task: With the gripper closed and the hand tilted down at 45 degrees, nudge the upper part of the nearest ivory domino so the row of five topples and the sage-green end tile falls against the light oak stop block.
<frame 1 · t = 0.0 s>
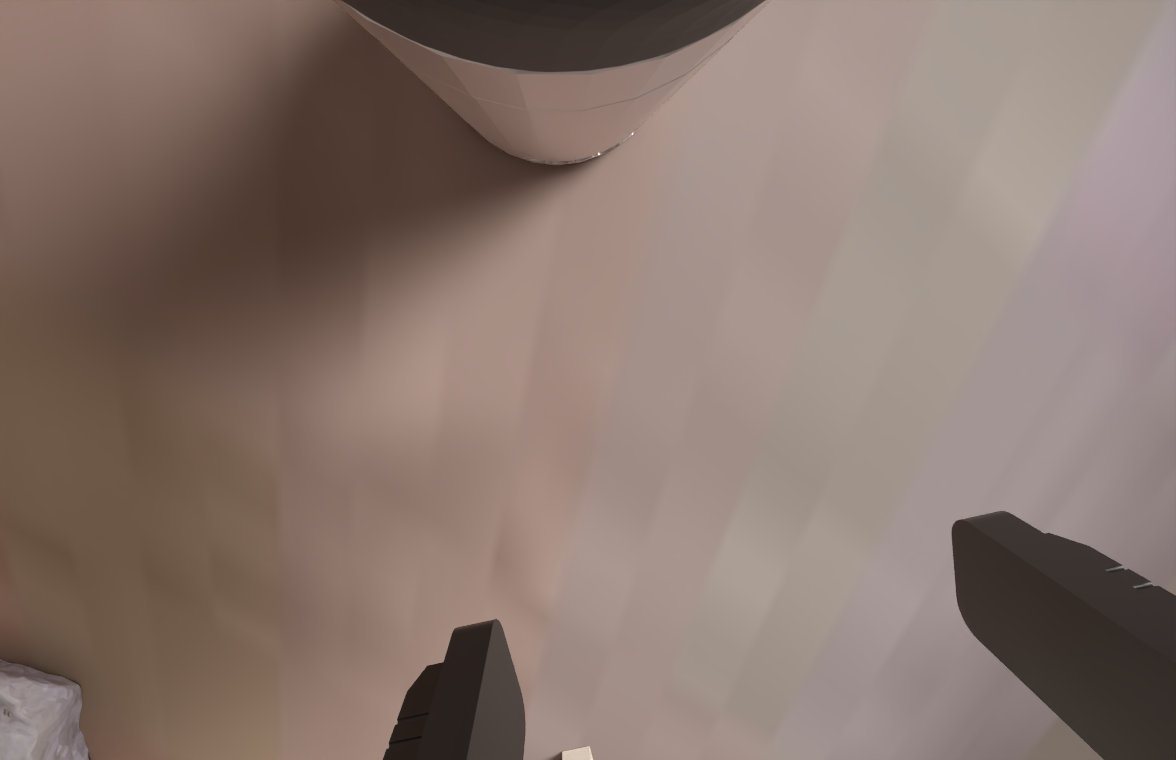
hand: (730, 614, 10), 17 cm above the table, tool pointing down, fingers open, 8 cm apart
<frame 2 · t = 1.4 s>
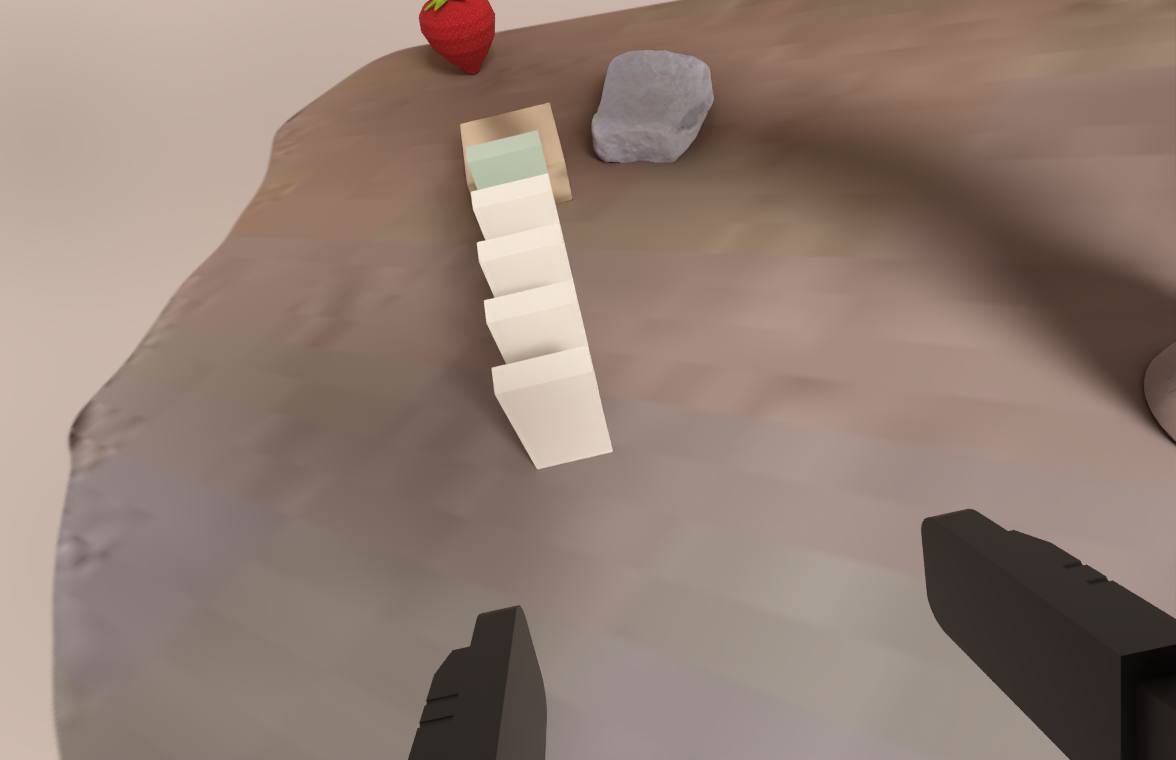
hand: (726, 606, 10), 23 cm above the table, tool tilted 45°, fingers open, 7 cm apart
strawberry: (474, 75, 61), on the table
domino 4: (542, 292, 44), on the table
domino 3: (551, 339, 42), on the table
domino 5: (534, 251, 47), on the table
domino 1: (572, 449, 37), on the table
domino 2: (561, 391, 40), on the table
stone block: (657, 126, 53), on the table
stop block: (521, 180, 51), on the table
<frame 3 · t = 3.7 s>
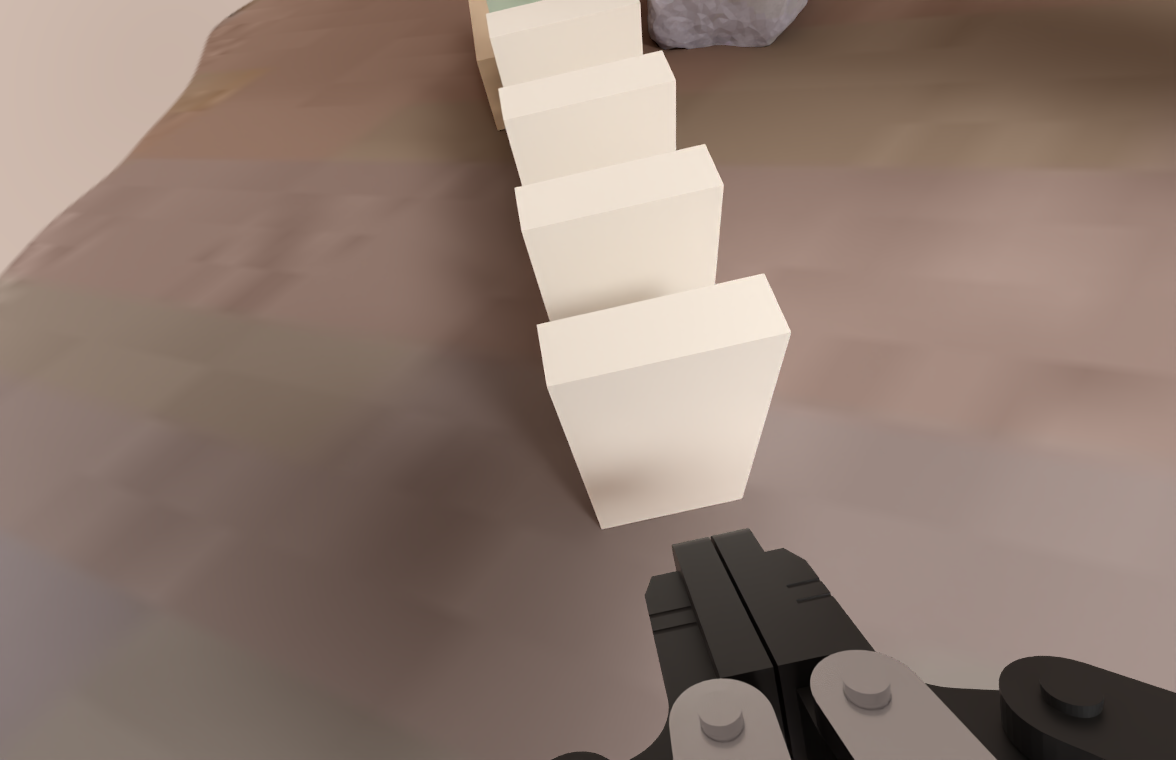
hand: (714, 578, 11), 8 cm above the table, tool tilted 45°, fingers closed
domino 4: (596, 229, 27), on the table
domino 3: (615, 300, 25), on the table
domino 5: (580, 169, 30), on the table
domino 1: (666, 492, 20), on the table
domino 2: (638, 386, 23), on the table
stone block: (736, 5, 37), on the table
stop block: (556, 75, 34), on the table
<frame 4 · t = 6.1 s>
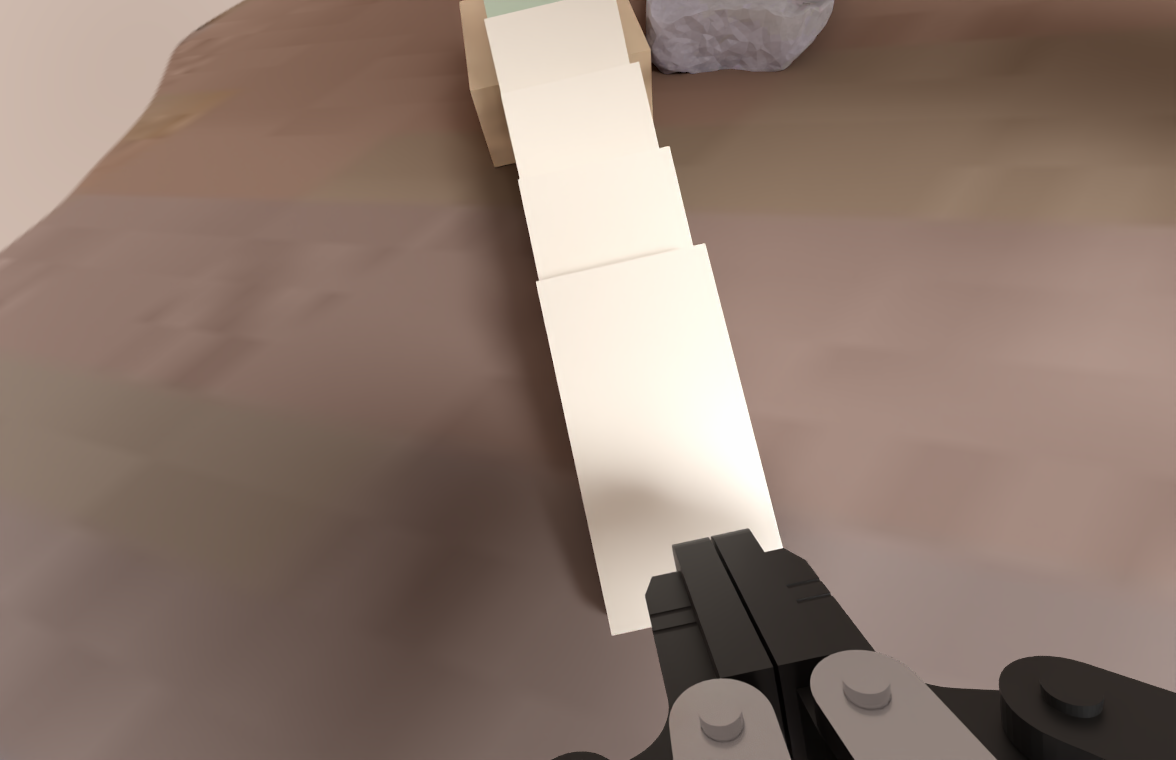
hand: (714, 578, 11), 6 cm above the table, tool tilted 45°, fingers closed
domino 4: (606, 269, 23), point 1 cm above the table, tilted 54°, touching domino 3, domino 5
domino 3: (632, 355, 21), point 1 cm above the table, tilted 60°, touching domino 2, domino 4
domino 5: (589, 198, 24), point 1 cm above the table, tilted 54°, touching domino 4, stop block
domino 1: (698, 607, 16), point 1 cm above the table, tilted 65°, touching domino 2
domino 2: (659, 467, 18), point 1 cm above the table, tilted 63°, touching domino 1, domino 3
stone block: (744, 23, 33), on the table
stop block: (561, 102, 30), on the table
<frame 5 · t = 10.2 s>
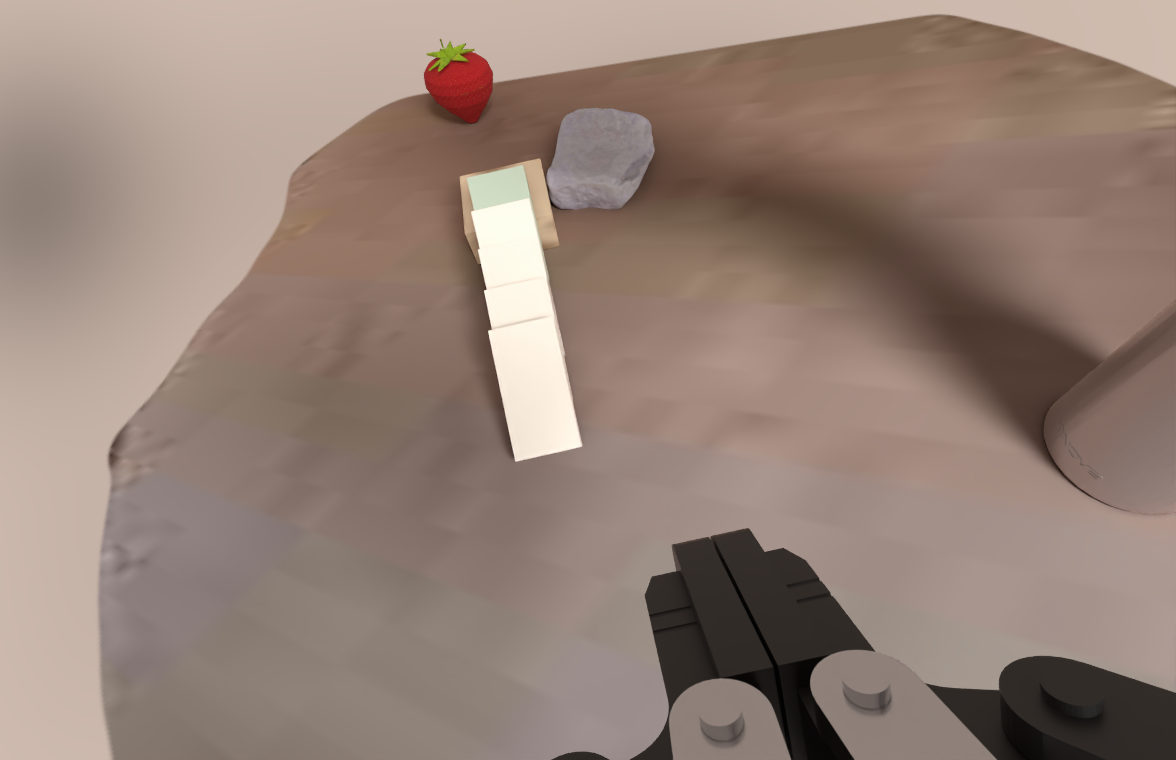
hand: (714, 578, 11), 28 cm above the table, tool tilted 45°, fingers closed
strawberry: (473, 124, 67), on the table
domino 4: (528, 321, 50), point 1 cm above the table, tilted 54°, touching domino 3, domino 5
domino 3: (535, 362, 47), point 1 cm above the table, tilted 60°, touching domino 2, domino 4
domino 5: (522, 286, 51), point 1 cm above the table, tilted 54°, touching domino 4, stop block
domino 1: (549, 453, 43), point 1 cm above the table, tilted 64°, touching domino 2
domino 2: (542, 408, 45), point 1 cm above the table, tilted 63°, touching domino 1, domino 3
stone block: (606, 175, 60), on the table
stop block: (514, 226, 57), on the table
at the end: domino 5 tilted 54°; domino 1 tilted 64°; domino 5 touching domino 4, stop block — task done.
